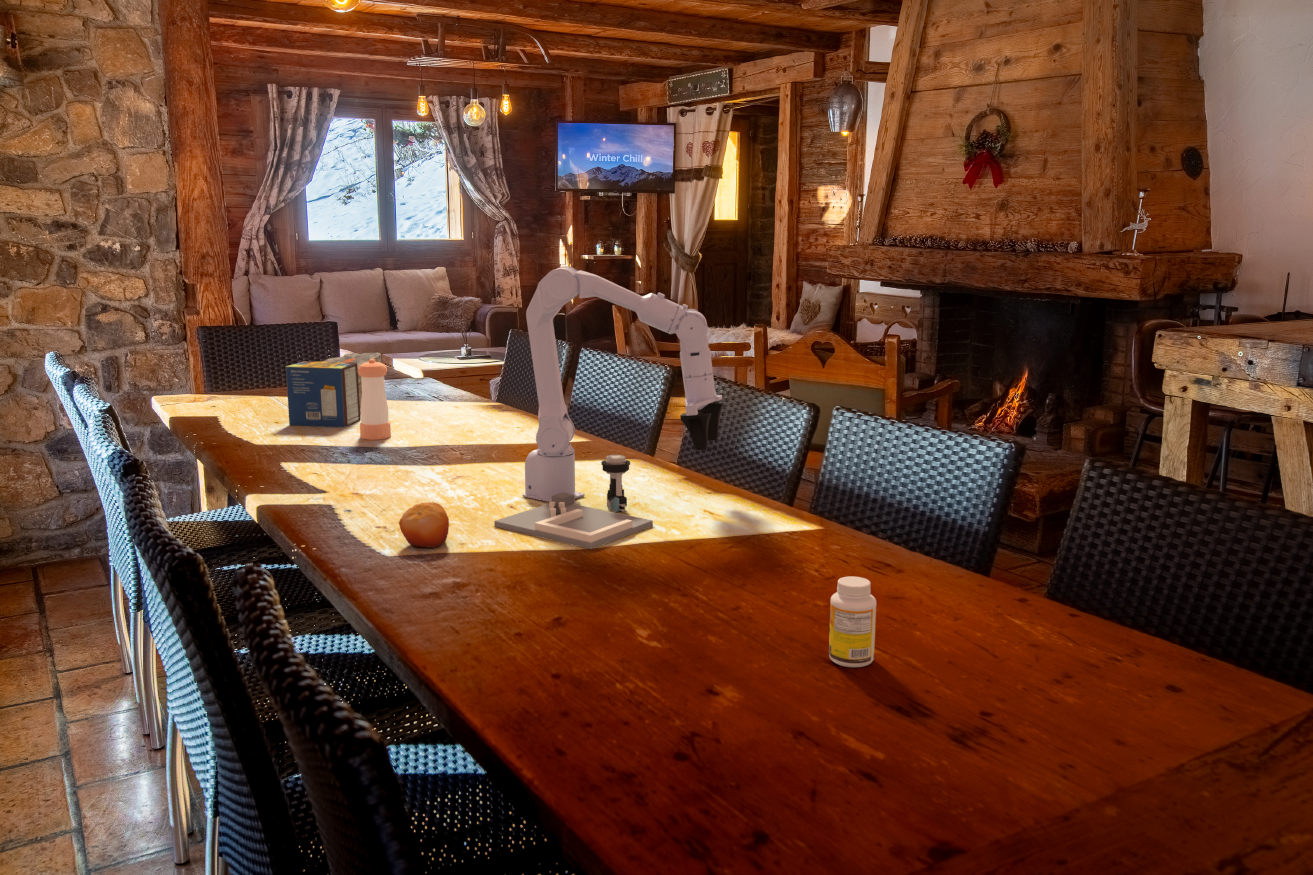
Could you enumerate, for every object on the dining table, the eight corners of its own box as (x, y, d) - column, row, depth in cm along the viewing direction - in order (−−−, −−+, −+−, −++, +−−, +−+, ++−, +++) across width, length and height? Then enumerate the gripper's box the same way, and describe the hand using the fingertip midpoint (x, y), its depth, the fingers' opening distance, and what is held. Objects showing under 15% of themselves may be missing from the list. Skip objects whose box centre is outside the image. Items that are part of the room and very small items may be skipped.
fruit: (464, 529, 184) (451, 495, 179) (445, 564, 178) (430, 530, 173) (423, 524, 186) (408, 491, 181) (402, 558, 181) (386, 525, 176)
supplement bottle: (842, 647, 138) (846, 570, 136) (882, 659, 134) (886, 580, 132) (819, 661, 134) (822, 581, 132) (859, 673, 130) (863, 592, 128)
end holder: (534, 529, 185) (534, 522, 185) (577, 515, 194) (577, 508, 194) (590, 542, 178) (590, 535, 178) (632, 527, 187) (632, 520, 187)
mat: (494, 526, 191) (494, 520, 190) (558, 506, 204) (558, 500, 204) (591, 549, 178) (591, 543, 178) (652, 525, 191) (652, 520, 191)
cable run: (542, 517, 193) (542, 508, 193) (554, 500, 204) (553, 492, 204) (565, 517, 193) (565, 508, 192) (575, 501, 204) (575, 492, 203)
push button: (637, 512, 200) (637, 459, 198) (611, 516, 197) (610, 462, 195) (623, 504, 206) (623, 452, 204) (597, 507, 203) (596, 455, 201)
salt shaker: (397, 436, 268) (393, 358, 264) (375, 441, 262) (371, 362, 258) (376, 432, 271) (372, 356, 268) (354, 437, 265) (349, 359, 262)
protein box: (306, 418, 290) (302, 360, 287) (361, 420, 288) (358, 362, 285) (288, 425, 280) (284, 366, 277) (344, 427, 278) (341, 367, 275)
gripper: (708, 379, 196) (717, 452, 199) (727, 366, 210) (736, 434, 212) (671, 382, 198) (680, 454, 201) (692, 369, 212) (701, 437, 214)
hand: (706, 444), depth 207 cm, fingers open, 7 cm apart
